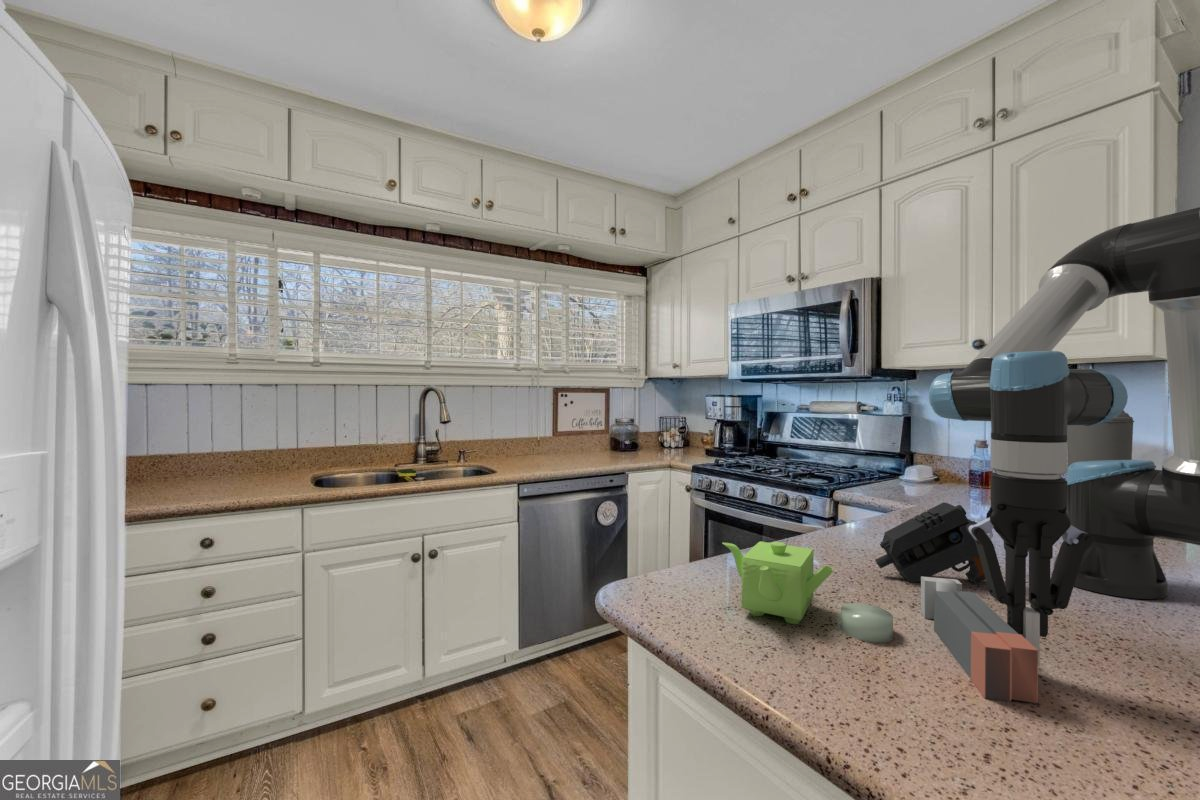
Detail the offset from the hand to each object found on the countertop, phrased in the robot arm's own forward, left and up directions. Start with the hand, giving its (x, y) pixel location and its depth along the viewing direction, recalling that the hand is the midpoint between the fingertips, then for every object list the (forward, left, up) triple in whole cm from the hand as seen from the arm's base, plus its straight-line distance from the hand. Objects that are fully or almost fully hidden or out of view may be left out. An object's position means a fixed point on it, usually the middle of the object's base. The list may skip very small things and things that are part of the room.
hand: (1027, 659), depth 66 cm
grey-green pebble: (+17, -8, -2) cm, 19 cm away
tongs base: (+5, -5, -2) cm, 7 cm away
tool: (0, -35, -2) cm, 35 cm away
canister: (-52, -86, -2) cm, 100 cm away
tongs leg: (+3, -2, -2) cm, 4 cm away
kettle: (+30, -12, -2) cm, 32 cm away
